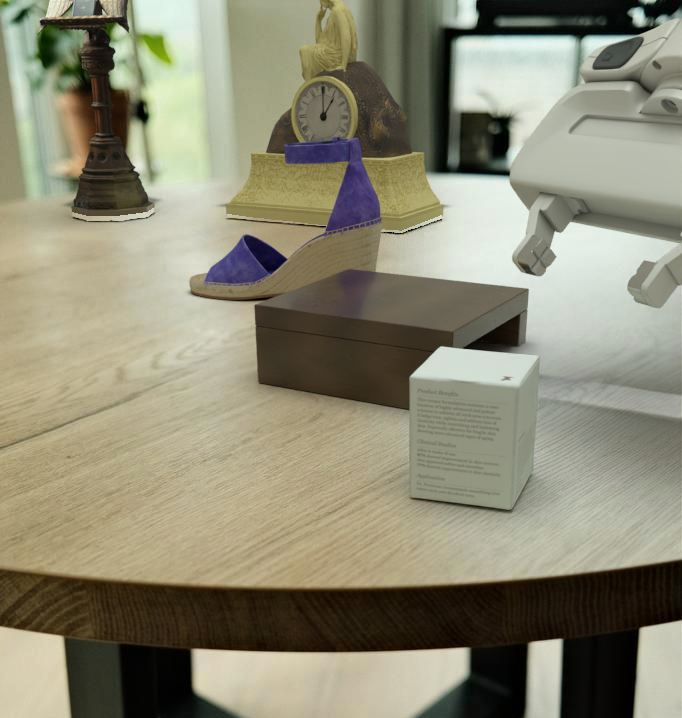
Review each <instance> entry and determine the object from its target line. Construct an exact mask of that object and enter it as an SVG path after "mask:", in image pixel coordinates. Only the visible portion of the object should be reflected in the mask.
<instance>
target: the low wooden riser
mask: <svg viewBox="0 0 682 718" xmlns="http://www.w3.org/2000/svg"><path fill="white" fill-rule="evenodd" d="M529 294H530V289H529V288H526V287H517V286H507V285H498V284H491V283H490V284H489V283H480V282H472V281H462V280H454V279H453V280H452V279H445V278H434V277H427V276H417V275H407V274H398V273H390V272H380V271H376V272H372V271H363V270H354V269H348V270H345V271H343V272H340V273H337V274H335V275H332V276H329V277H327V278H324V279H321V280H319V281H316V282H313V283H311V284H308V285H306V286H303V287H300V288H298V289H295V290H292V291H290V292H287V293H284V294H282V295H279V296H274V297H270V298H268V299H266V300H263V301H260V302H258V303H255V304H253V305H254V307H253V309H254V324H255V346H256V348H255V349H256V367H257V382H258V383H259V384H265V385H270V386H276V387H281V388H286V389H293V390H297V391H298V390H299V391H304V392H308V393H309V392H310V393H313V394H314V393H315V394H320V395H326V396H333V397H337V398H343V399H349V400H354V401H359V402H365V403H366V402H367V403H372V404H377V405H383V406H388V407H394V408H400V409H404V410H410V384H409V378H410V376H411V375H412V374H413V373H414V372H415V371H416V370H417V369H418V368H419V367H420V366H421V365H422V364H423V363H424V362H425V361H426V360H427V359H428V358H429V357H430V356H431V355H432V354H433V353H434V352H435V351H436V350H437V349H438V348H439V347H441V346H443V347H450V348H459V349H464V348H465V347H467V346H469V345H470V344H472V343H473V342H480V343H486V344H487V343H488V344H495V345H500V346H501V345H503V346H508V347H509V346H510V347H515V348H516V347H520V346H522V345H523V344H525V343H526V339H527V327H528V326H527V325H528V311H529V310H528V309H529Z"/></svg>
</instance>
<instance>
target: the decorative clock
mask: <svg viewBox="0 0 682 718" xmlns="http://www.w3.org/2000/svg"><path fill="white" fill-rule="evenodd" d="M319 4H320V7H319V10H318V12H317V14H316V17H315V27H314V39H315V43H314V44H311V43H310V44H304V45H301V46H300V47H299V50H298V52H299V53H298V54H299V58H300V65H301V76H302V78H303V80H304V83H302V85H301V86H300V87H299V88H298V90H297V91H296V92H295V95H294V97H293V100H292V103H291V107H290V108H289V109H287V110H286V111H285V112H284V113H283V114H282V115H280V117H279V118H278V120H277V121H276V123H275V124H274V126H273V128H272V131H271V133H270V138H269V140H268V145H267V147H266V150H262V151H257V152H251V153H250V169H249V175H248V178H247V179H246V182H245V183H244V185H243V187H242V188H241V190H240V191H239V192H238V193H236V194H235V196H233V198H232V199H231V200H230V201H229V202H227V203H225V213H226V214H232V215H239V216H246V217H253V218H264V219H271V220H282V221H293V222H301V223H308V224H318V225H327V224H328V221H329V219H330V216H331V213H332V210H333V207H334V204H335V202H336V199H337V196H338V193H339V190H340V187H341V184H342V181H343V178H344V175H345V171H346V168H347V165H348V162H336V163H335V164H286V162H285V152H284V145H285V144H290V143H300V142H311V140H312V139H313V138H331V137H340V138H341V140H343V139H353V138H358V139H359V142H360V146H361V152H362V161H363V164H364V167H365V169H366V172H367V174H368V176H369V179H370V181H371V184H372V186H373V188H374V190H375V192H376V194H377V196H378V200H379V204H380V216H381V219H382V229H385V230H399V231H402V230H404V229H407V228H409V227H412V226H415V225H417V224H420V223H422V222H425V221H428V220H430V219H433V218H435V217H438V216H440V215H443V216H444V204H443V203H441V200H440V199H439V197H438V196H437V194H436V193H435V192H434V191H433V189H432V187H431V185H430V182H429V179H428V178H427V174H426V166H425V152H422V151H421V152H419V151H413V149H412V146H411V140H410V137H409V132H408V116H407V115H406V113H405V112H404V110H403V108H402V107H401V106H400V104H399V103H398V102H397V101H396V100H395V99H394V98H393V95H392V94H391V92H390V90H389V89H388V88H387V85H386V84H385V83H384V81H383V79H382V77H381V76H380V74H378V73H377V72H376V71H375V70H374V69H373V68H372V67H371V66H370V65H369V64H368V63H367V62H366V61H362V60H361V61H359V60H357V59H358V50H359V45H358V43H359V40H358V33H357V24H356V21H355V18H354V16H353V13H352V11H351V9H350V8H349V7H348V6H347V5H346V4H345V2H343V1H342V0H319ZM328 9H329V11H330V13H329V16H328V17H327V19H326V23H325V27H324V29H323V27H322V21H323V20H324V18H325V16H326V13H327V10H328ZM325 142H327V141H325ZM226 214H225V215H226Z"/></svg>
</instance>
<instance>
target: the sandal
mask: <svg viewBox="0 0 682 718" xmlns="http://www.w3.org/2000/svg"><path fill="white" fill-rule="evenodd" d="M325 141H327V142H325ZM284 152H285V162H286V164H335V163H336V162H348V165H347V168H346V171H345V175H344V178H343V181H342V184H341V187H340V190H339V193H338V196H337V199H336V202H335V204H334V207H333V210H332V213H331V216H330V219H329V221H328V224H327V227H325V230H324V232H323V233H322V234H318V235H317V236H315V237H313V238H312V239H310V240H308V241H307V242H305V244H303V245H302V246H300V247H299V248H298V249H296V250H295V251H294V252H293V253H292V254H291V255H290V256H289V257H286V256H284V255H283V254H282V253H281V252H280V251H278V250H277V249H276V248H274V247H273V246H272V245H270V244H269V243H267V242H266V241H264V240H262V239H260V238H258V237H256V236H254V235H251V234H248V233H245V234H242V236H241V237H240V239H239V240H238V242H237V243H236V245H235V246H234V247H233V248H232V249H231V250H230V251H229V252H228V253H227V254H225V255H224V256H223V257H222V258H221V259H220V260H218V262H216V263H214V264H213V265H212V266H211V267H210V268H209V270H208V271H207V272H204V273H199V274H195V275H192V276H191V277H190V278H189V281H188V282H189V283H188V284H189V288H190V293H192V295H195V296H199V297H205V298H209V299H216V300H217V299H218V300H231V301H234V300H235V301H240V300H241V301H242V300H245V301H246V300H255V299H262V298H274V297H276V296H279V295H282V294H284V293H287V292H290V291H292V290H295V289H298V288H300V287H303V286H306V285H308V284H311V283H313V282H316V281H319V280H321V279H324V278H327V277H329V276H332V275H335V274H337V273H340V272H343V271H345V270H348V269H354V270H363V271H372V272H377V271H376V270H377V262H378V256H379V250H380V244H381V243H380V242H381V235H382V232H381V230H382V219H381V216H380V204H379V200H378V196H377V194H376V192H375V190H374V188H373V186H372V184H371V181H370V179H369V176H368V174H367V172H366V169H365V167H364V164H363V161H362V152H361V146H360V142H359V139H358V138H353V139H343V140H341V138H340V137H331V138H313V139H312V140H311V142H300V143H290V144H285V145H284Z"/></svg>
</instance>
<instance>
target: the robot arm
mask: <svg viewBox="0 0 682 718" xmlns="http://www.w3.org/2000/svg"><path fill="white" fill-rule="evenodd" d="M579 73H580V77H582V80H583V82H584V83H581V84H579V85H577V86H575V87H573V88H571V89H570V90H568V91H567V92H566V93H565V94H563V95H562V96H561V97H560V98H559V99H558V100H557V101H556V103H554V105H553V106H552V107H551V108H550V109H549V111H548V112H547V113H546V114H545V116H544V117H543V119H542V120H541V121H540V122H539V124H538V125H537V126H536V127H535V129H533V131H532V132H531V134H530V136H529V137H528V138H527V140H526V141H525V143H524V144H523V145H522V147H521V148H520V150H518V151H519V152H517V154H516V156H515V157H514V159H513V161H512V163H511V165H510V170H509V185H510V187H511V189H512V190H513V191H514V193H515V194H516V196H517V197H518V199H519V200H520V201H521V203H522V204H523V205H524V206H525V208H526V209H527V211H529V213H528V219H527V224H526V229H525V236H524V237H523V239H522V240H521V242H520V243H519V244H518V245H517V247H516V248H515V249H514V251H513V252H512V255H511V260H512V262H513V264H514V265H515V267H516V268H517V269H518V270H519V272H520V273H522V274H527V275H530V276H534V277H542V276H543V275H544V274H545V273H546V272H547V268H548V267H550V266H551V265H552V264H553V262H554V261H555V260H556V259H557V255H556V254H555V252H554V251H553V249H551V246H552V244H553V239H554V236H555V233H560V234H561V233H563V232H564V231H565V229H566V228H567V227H568V226H569V224H570V223H574V224H578V225H584V226H589V227H595V228H598V229H604V230H610V231H614V232H619V233H624V234H629V235H634V236H640V237H643V238H650V239H655V240H661V241H665V242H670V243H676V244H677V245H676V246H675V247H674V248H672V249H671V250H670V251H669V252H667V253H665V254H664V255H663V256H661V257H660V258H659V259H657V260H656V261H655V262H654V261H649V260H643V261H642V262H641V263H640V265H639V266H638V268H637V269H636V273H635V274H634V275H632V276H631V277H630V279H629V280H628V283H627V287H626V288H627V291H628V293H629V295H631V296H632V297H633V301H634V302H635V303H636V304H640V305H644V306H647V307H650V308H655V309H661V308H662V307H664V305H665V304H666V302H668V300H669V298H670V297H671V296H672V294H673V293H674V292H675V291H676V289H677V288H678V286H682V17H681V18H679V17H677V18H676V17H675V18H673V19H669V20H667V21H666V22H664V23H662V24H660V25H658V26H656V27H655V28H653V29H650V30H648V31H645V32H643V33H640V34H637V35H635V36H632V37H628V38H626V39H625V38H624V39H622V40H618V41H615V42H612V43H608V44H605V45H602V46H600V47H598V48H596V49H594V50H593V51H592V52H591V53H590V54H589V55H588V56H587V57H586V58H585V60H584V62H583V63H582V65H581V66H580V69H579Z"/></svg>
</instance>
